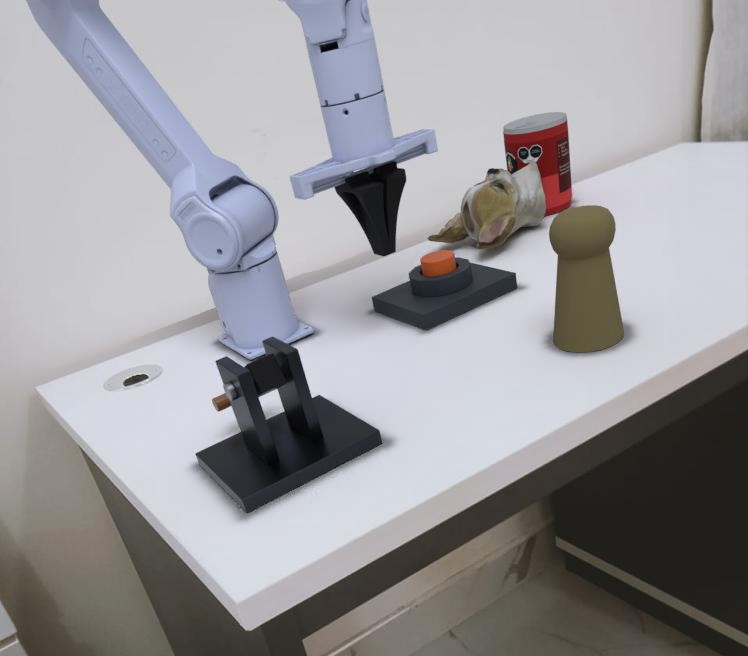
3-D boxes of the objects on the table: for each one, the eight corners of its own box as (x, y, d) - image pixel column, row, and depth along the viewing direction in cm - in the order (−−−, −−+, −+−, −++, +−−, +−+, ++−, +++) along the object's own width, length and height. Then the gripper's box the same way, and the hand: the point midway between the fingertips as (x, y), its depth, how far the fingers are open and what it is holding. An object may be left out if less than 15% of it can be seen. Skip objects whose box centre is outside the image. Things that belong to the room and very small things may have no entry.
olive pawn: (626, 347, 63) (622, 214, 57) (552, 355, 65) (541, 227, 58) (622, 319, 68) (618, 192, 62) (553, 327, 69) (542, 205, 63)
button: (416, 275, 80) (413, 259, 79) (443, 264, 81) (440, 248, 80) (436, 281, 77) (433, 264, 76) (463, 269, 78) (461, 252, 78)
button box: (374, 311, 83) (367, 281, 81) (460, 273, 87) (455, 243, 85) (426, 330, 75) (420, 297, 73) (517, 288, 79) (514, 255, 77)
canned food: (502, 212, 103) (492, 126, 97) (555, 196, 104) (548, 109, 98) (528, 222, 97) (519, 131, 91) (583, 205, 98) (578, 113, 92)
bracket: (199, 465, 62) (160, 369, 57) (322, 406, 66) (295, 312, 61) (247, 513, 55) (206, 407, 50) (382, 443, 59) (357, 339, 54)
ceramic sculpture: (565, 147, 88) (471, 195, 83) (574, 220, 93) (485, 270, 88) (502, 147, 96) (413, 191, 91) (513, 215, 101) (429, 260, 96)
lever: (220, 419, 64) (207, 393, 63) (271, 395, 66) (259, 370, 65) (244, 401, 55) (229, 371, 54) (303, 374, 56) (289, 345, 56)
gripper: (300, 121, 60) (341, 286, 67) (446, 73, 64) (469, 232, 72) (264, 121, 65) (306, 274, 72) (401, 77, 70) (427, 224, 77)
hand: (384, 252), depth 73 cm, fingers closed
